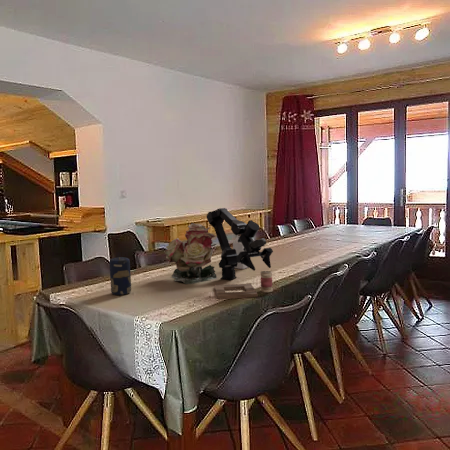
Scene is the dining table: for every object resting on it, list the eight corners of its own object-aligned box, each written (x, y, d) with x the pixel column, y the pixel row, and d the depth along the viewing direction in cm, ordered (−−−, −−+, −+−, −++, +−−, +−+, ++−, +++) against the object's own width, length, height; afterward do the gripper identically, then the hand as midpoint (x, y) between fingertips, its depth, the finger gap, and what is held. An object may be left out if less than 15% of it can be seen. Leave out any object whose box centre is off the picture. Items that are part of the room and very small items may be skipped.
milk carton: (240, 265, 270) (239, 235, 268) (250, 267, 265) (249, 235, 263) (233, 268, 264) (232, 236, 262) (243, 269, 260) (242, 237, 258)
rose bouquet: (162, 276, 247) (159, 223, 243) (211, 271, 257) (210, 219, 254) (173, 286, 223) (171, 227, 220) (227, 280, 233) (226, 223, 230)
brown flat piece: (214, 288, 217) (214, 285, 217) (250, 286, 219) (250, 283, 219) (217, 299, 197) (217, 295, 197) (257, 296, 199) (257, 293, 199)
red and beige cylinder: (258, 291, 208) (258, 272, 207) (264, 288, 213) (263, 270, 212) (269, 292, 205) (268, 273, 204) (274, 290, 210) (274, 271, 209)
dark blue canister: (133, 290, 217) (131, 254, 215) (129, 295, 207) (127, 257, 206) (113, 291, 217) (111, 255, 215) (109, 296, 207) (107, 258, 205)
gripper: (239, 234, 208) (253, 261, 200) (270, 231, 218) (285, 256, 210) (230, 249, 216) (244, 275, 208) (261, 245, 226) (275, 270, 218)
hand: (262, 268), depth 211 cm, fingers open, 9 cm apart
